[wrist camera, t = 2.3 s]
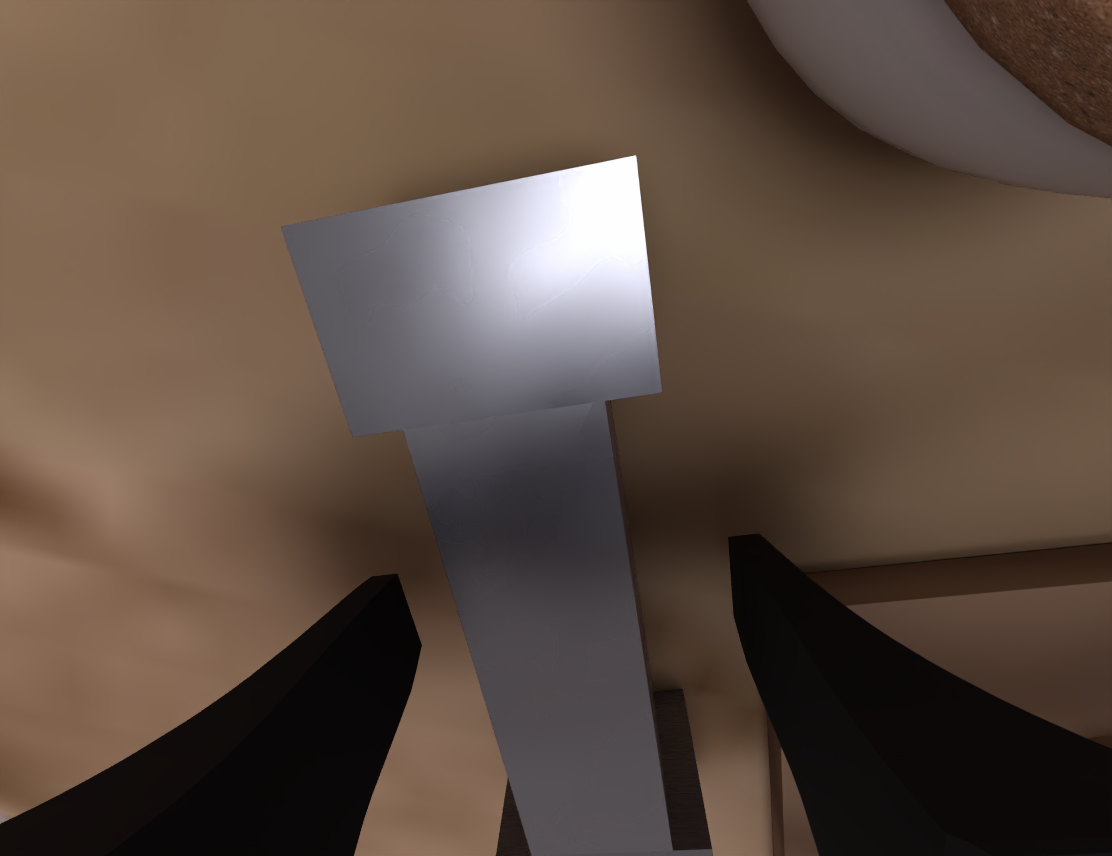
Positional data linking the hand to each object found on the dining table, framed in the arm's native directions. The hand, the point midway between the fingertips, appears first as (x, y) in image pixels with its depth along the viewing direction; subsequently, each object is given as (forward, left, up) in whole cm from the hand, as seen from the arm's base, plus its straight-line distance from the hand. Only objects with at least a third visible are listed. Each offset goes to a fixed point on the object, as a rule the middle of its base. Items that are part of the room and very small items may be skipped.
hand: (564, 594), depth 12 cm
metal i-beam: (0, 0, -2) cm, 2 cm away
